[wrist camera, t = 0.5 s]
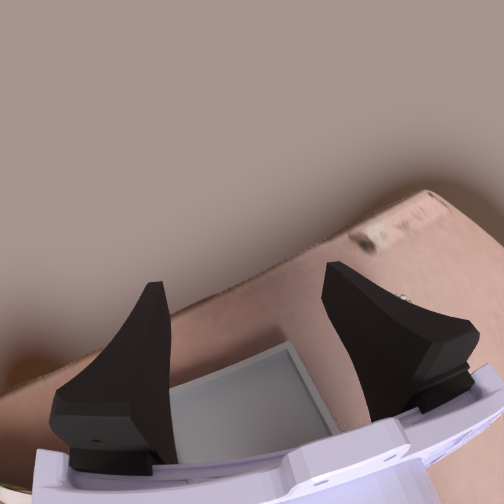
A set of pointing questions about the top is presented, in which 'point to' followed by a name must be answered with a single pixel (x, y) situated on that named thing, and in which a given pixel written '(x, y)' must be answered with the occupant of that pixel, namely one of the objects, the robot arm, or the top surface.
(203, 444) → the box
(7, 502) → the sign
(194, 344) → the top surface
